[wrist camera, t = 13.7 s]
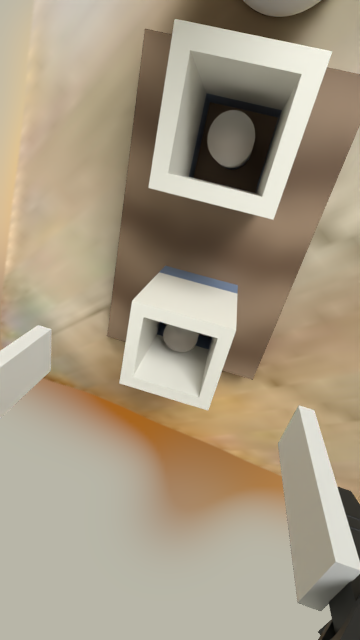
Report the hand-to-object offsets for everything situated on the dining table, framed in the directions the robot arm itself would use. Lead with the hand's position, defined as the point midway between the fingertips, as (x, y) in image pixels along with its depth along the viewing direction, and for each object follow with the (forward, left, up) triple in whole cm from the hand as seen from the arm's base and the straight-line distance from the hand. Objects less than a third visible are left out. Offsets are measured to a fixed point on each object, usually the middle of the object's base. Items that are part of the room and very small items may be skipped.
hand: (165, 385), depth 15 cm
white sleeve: (0, 0, -11) cm, 11 cm away
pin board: (-6, 0, -13) cm, 14 cm away
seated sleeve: (-12, 0, -11) cm, 16 cm away
